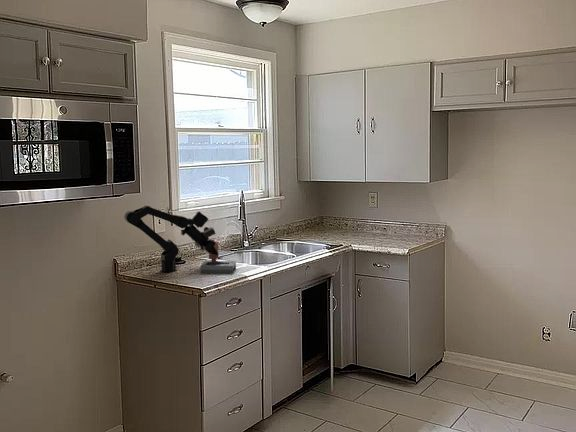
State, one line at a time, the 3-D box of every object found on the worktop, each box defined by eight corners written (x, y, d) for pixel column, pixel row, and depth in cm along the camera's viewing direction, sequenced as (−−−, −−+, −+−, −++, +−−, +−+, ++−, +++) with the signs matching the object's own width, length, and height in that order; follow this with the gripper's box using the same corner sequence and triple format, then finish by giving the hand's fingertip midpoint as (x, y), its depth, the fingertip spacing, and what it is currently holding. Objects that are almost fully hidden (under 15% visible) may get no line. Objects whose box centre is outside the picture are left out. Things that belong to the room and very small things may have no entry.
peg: (213, 268, 313) (212, 243, 311) (206, 266, 316) (205, 242, 315) (221, 266, 317) (220, 241, 315) (214, 265, 320) (213, 240, 319)
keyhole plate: (200, 273, 299) (200, 265, 299) (204, 268, 312) (204, 261, 312) (232, 273, 299) (232, 265, 299) (235, 268, 312) (235, 260, 311)
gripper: (211, 224, 304) (232, 244, 310) (200, 220, 321) (220, 240, 327) (196, 241, 301) (218, 261, 307) (186, 236, 318) (206, 255, 324)
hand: (216, 254), depth 316 cm, fingers closed on peg, 5 cm apart
